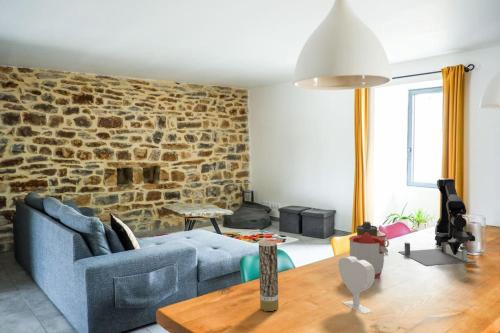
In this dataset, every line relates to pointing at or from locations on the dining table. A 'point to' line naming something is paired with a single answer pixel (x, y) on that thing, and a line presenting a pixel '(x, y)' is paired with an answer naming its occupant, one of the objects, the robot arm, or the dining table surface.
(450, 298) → the dining table surface
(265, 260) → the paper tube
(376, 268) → the citrus juicer
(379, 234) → the teacup with lid
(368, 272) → the heart sculpture
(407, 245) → the posts
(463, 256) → the cream rectangular bar
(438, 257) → the mat
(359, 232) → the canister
